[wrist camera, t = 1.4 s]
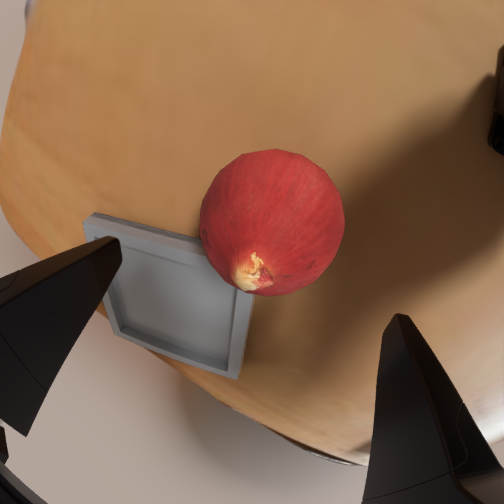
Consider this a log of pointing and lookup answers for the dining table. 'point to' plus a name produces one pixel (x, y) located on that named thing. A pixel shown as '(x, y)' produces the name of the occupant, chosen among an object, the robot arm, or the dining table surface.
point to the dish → (173, 297)
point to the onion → (271, 222)
